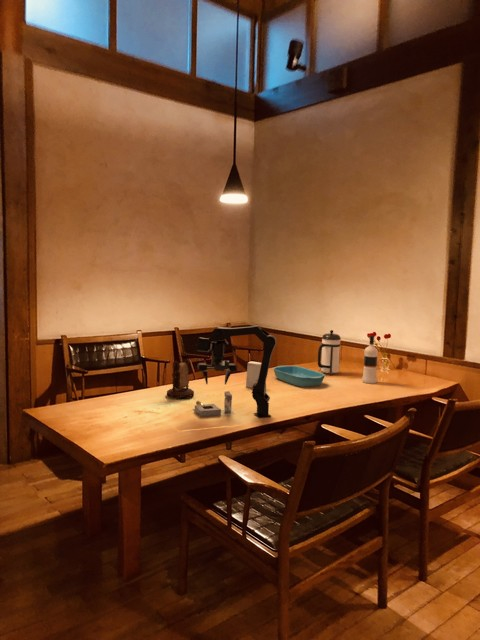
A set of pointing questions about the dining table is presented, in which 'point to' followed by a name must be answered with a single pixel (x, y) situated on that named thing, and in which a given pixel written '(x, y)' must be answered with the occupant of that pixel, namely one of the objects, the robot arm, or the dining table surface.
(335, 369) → the coffee press
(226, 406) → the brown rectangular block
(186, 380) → the brown pedestal sculpture
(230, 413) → the mat
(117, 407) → the dining table surface
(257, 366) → the skincare box
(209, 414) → the block
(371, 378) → the vodka
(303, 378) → the casserole dish
